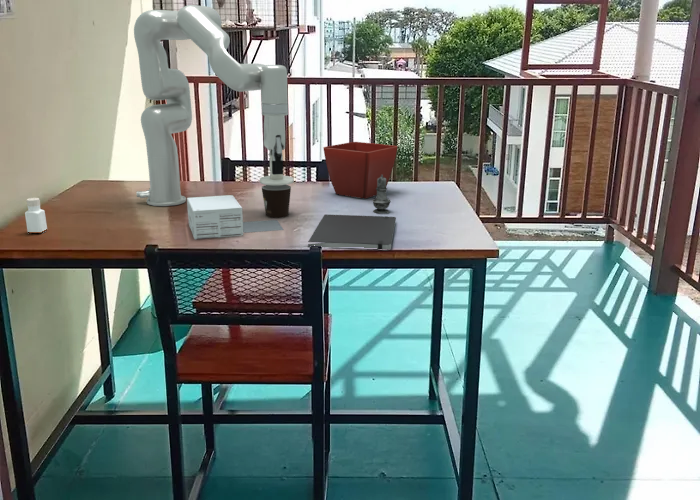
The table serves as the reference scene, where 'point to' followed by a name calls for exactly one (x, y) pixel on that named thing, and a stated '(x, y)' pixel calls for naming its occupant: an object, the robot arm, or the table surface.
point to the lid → (276, 177)
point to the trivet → (261, 226)
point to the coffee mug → (276, 200)
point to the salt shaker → (35, 216)
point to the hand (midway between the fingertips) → (276, 172)
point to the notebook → (354, 231)
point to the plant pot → (359, 167)
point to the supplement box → (215, 217)
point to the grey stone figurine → (381, 197)
